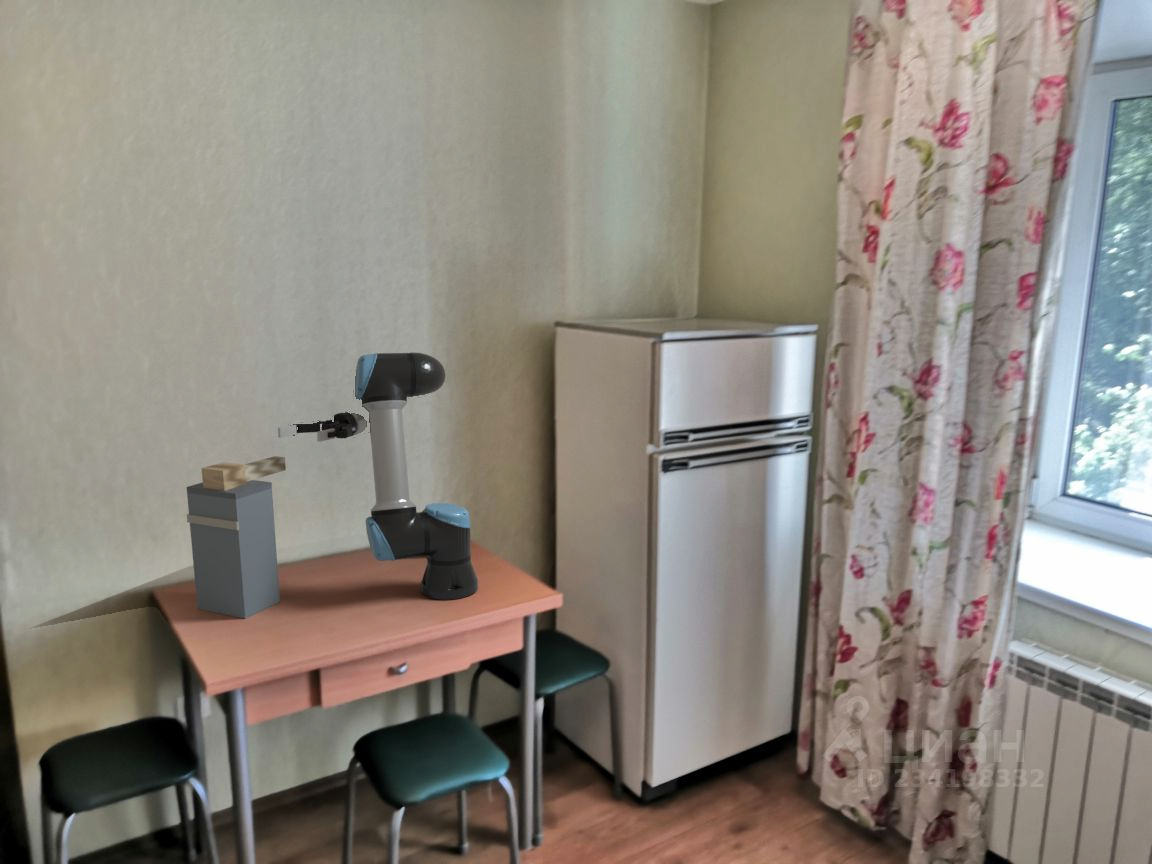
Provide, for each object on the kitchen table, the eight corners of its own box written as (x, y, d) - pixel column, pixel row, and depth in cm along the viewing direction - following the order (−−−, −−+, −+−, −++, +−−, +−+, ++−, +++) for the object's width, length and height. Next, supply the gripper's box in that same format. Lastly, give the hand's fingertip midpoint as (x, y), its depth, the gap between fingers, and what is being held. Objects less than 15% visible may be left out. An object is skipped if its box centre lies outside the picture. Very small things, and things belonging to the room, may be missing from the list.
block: (270, 468, 231) (269, 450, 230) (290, 470, 229) (289, 452, 228) (203, 487, 211) (201, 468, 210) (224, 490, 208) (222, 470, 207)
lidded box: (280, 601, 222) (272, 482, 216) (244, 619, 211) (234, 494, 205) (232, 592, 228) (223, 476, 222) (195, 609, 217) (184, 487, 211)
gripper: (382, 440, 251) (335, 452, 231) (314, 433, 260) (264, 444, 241) (382, 415, 249) (334, 424, 230) (313, 409, 259) (262, 417, 240)
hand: (298, 434), depth 235 cm, fingers open, 13 cm apart
